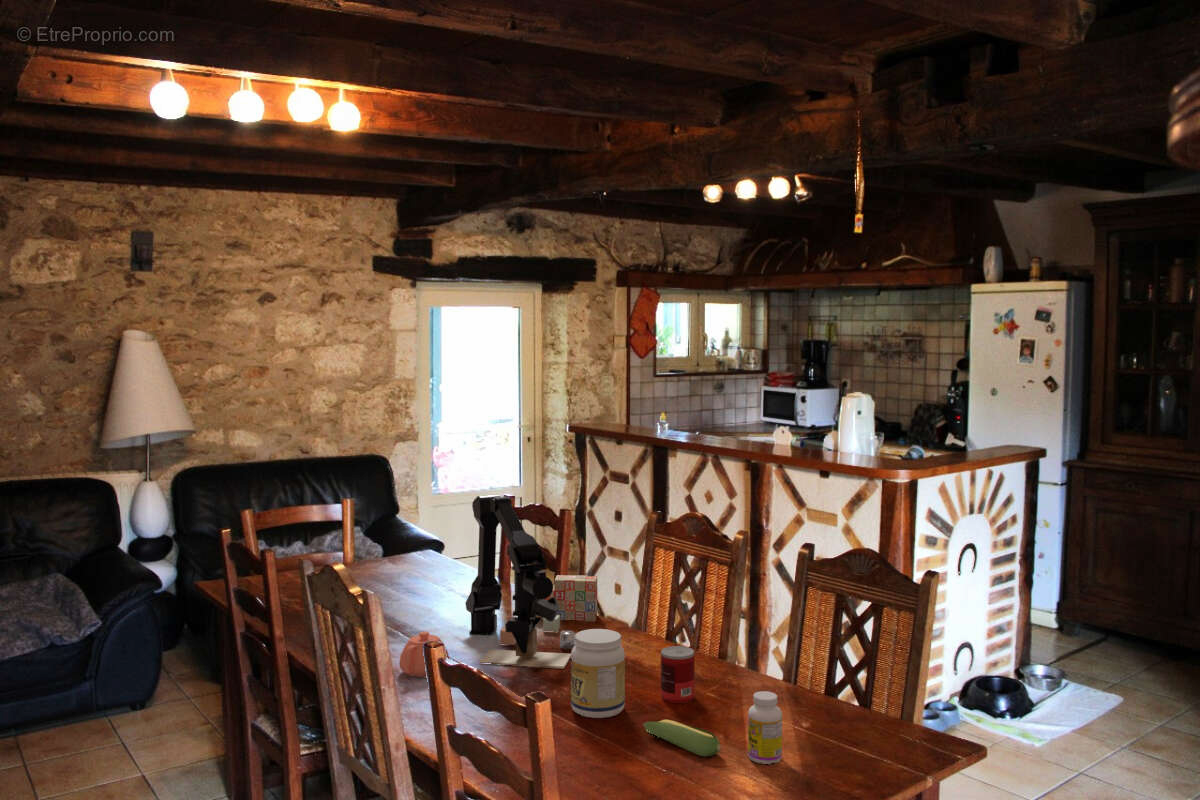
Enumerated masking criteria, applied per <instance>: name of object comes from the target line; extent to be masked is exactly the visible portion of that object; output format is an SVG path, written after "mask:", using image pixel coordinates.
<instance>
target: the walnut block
mask: <svg viewBox="0 0 1200 800" xmlns="http://www.w3.org/2000/svg"><path fill="white" fill-rule="evenodd" d="M537 633H538V629H537V628H535V629H533V630H532V631H531V632H530V633H529V637H528V644H527V650H526V653H522V652H521V650H520V648H519V646H518V644H517V642H516V645H515V651H516V656H525V657H533V656H534V655H535V653H536V652H538V644H537V643H538V640H537V639H538V634H537Z"/></svg>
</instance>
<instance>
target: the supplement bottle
mask: <svg viewBox="0 0 1200 800" xmlns="http://www.w3.org/2000/svg"><path fill="white" fill-rule="evenodd" d="M752 701H753V705H751V706H750V707H749V709H748V711H747V713H748V715H747V718H748V723H747V724H748V725H747V727H748V728H747V756H748V758H749V759H750V760H751V762H753V761H754V763H756V762H757V763H756V764H759V763H762V764H761V765H765V764H768V765H772V764H771V763H775V764H777V763H779V762H781V759H782V756H783V712H782V709H781V708H780V707H779V706H777V704H778V695H777V694H776V693H775V692H771V691H766V690H763V691H761V690H760V691H755V692H754V693H753V697H752Z"/></svg>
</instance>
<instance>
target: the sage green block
mask: <svg viewBox="0 0 1200 800" xmlns="http://www.w3.org/2000/svg"><path fill="white" fill-rule="evenodd" d="M542 621H543V622H542V627H543V628H542V629H543V631H553V632H557V631H558V630H559V628H560V629H561V621H560V615H556V618H555V619H554V620H553V621H552V622H551V621H548V620H547V619H545V618H543V620H542ZM543 631H542V632H543ZM559 631H560V630H559ZM559 631H558V632H559ZM558 632H557V633H558Z"/></svg>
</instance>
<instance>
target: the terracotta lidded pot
mask: <svg viewBox="0 0 1200 800" xmlns="http://www.w3.org/2000/svg"><path fill="white" fill-rule="evenodd" d="M418 634H419V635H417V634H416V635H414V636H412V637H410V638H408V641H407V642H406V644H405V645H404V647H403V649H402V651H401V653H400V658H399V668H400V669H401V670H402V671H403V672H404V673H405V674H406V676H409V675H410V676H411V677H418V678H423V679H427V678H426V671H425V662H424V656H423V644H424V643H425V642H427V641H439V642H441V643H443V641H442V640H441V638H440V637H439V636H438V635H435V634H430V632H429V631H421V632H419V633H418ZM443 644H444V643H443ZM445 648H446V654H447V658H448V659H449V660H450V656H449V652H448V649H447V647H446V646H445ZM410 676H409V677H410ZM424 677H425V678H424Z"/></svg>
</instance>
